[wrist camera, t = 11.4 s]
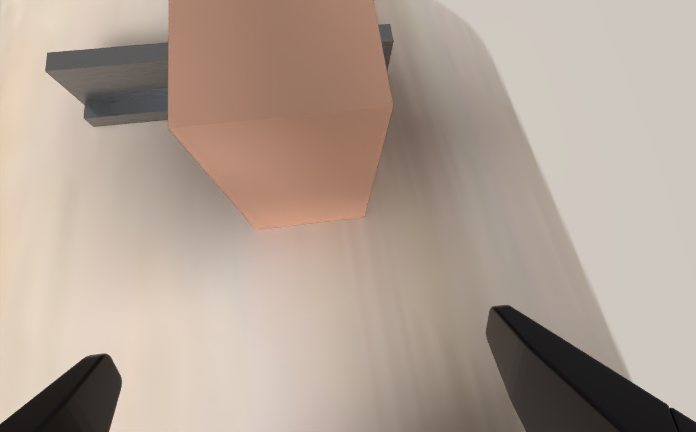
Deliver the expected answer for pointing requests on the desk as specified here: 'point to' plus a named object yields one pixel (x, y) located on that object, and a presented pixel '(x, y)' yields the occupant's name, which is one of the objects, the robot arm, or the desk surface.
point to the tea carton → (281, 103)
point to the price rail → (128, 80)
